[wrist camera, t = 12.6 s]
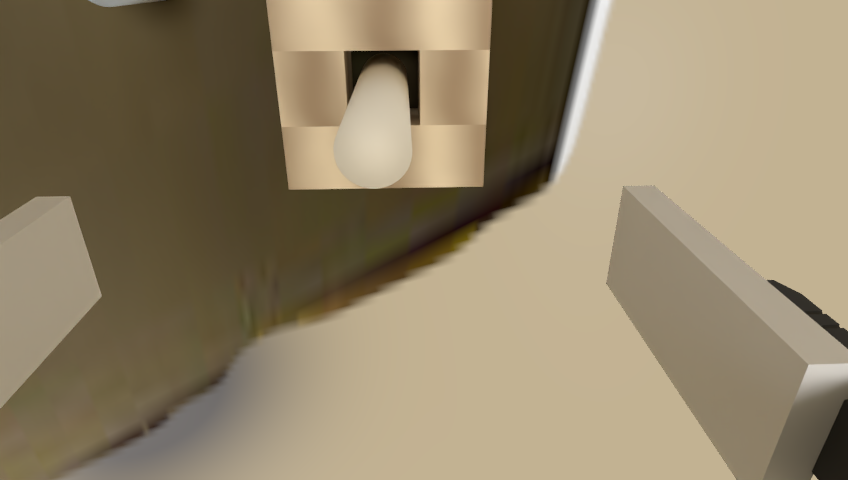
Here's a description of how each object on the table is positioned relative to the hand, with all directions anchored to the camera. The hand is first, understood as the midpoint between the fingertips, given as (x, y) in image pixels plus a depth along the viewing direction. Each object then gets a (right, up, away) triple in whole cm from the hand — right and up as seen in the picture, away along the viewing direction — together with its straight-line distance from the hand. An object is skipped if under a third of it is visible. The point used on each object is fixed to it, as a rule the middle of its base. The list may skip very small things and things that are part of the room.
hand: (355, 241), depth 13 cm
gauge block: (-1, +11, +22) cm, 24 cm away
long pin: (-1, +11, +22) cm, 24 cm away
